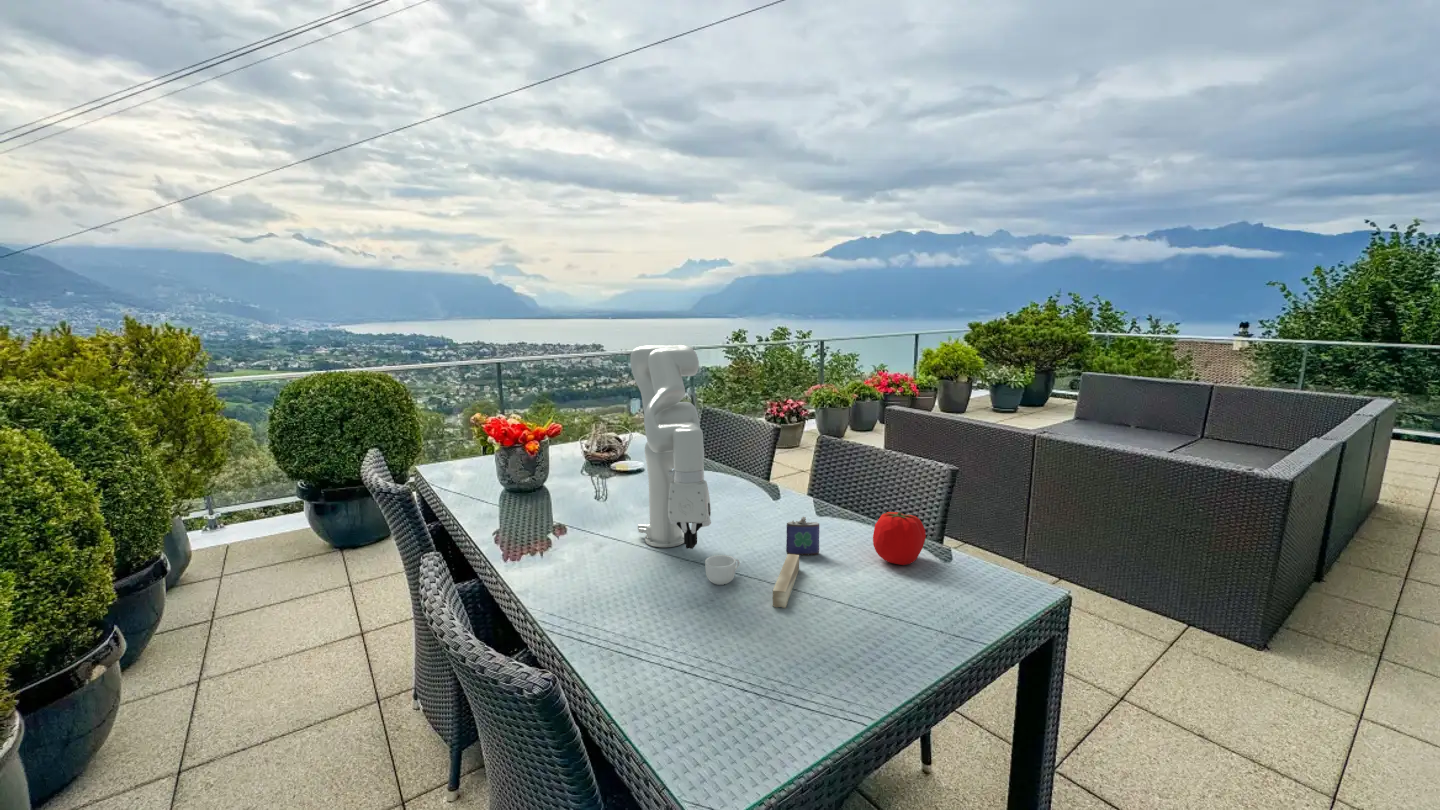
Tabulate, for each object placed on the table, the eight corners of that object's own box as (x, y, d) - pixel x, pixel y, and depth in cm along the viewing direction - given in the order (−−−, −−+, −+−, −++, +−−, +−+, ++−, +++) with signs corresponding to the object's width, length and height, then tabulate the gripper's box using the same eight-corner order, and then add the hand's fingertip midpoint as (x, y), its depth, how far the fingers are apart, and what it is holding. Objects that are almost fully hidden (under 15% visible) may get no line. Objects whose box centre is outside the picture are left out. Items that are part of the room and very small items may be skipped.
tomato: (893, 574, 150) (895, 523, 148) (859, 555, 162) (861, 508, 161) (939, 564, 156) (941, 515, 154) (904, 546, 169) (905, 501, 167)
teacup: (717, 590, 142) (717, 569, 141) (699, 580, 148) (698, 559, 147) (748, 579, 148) (748, 559, 147) (730, 569, 154) (729, 550, 153)
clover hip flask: (818, 551, 166) (819, 515, 164) (819, 556, 163) (820, 519, 161) (785, 551, 166) (786, 515, 165) (786, 555, 163) (786, 518, 162)
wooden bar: (772, 606, 134) (772, 590, 133) (787, 568, 155) (787, 553, 154) (785, 608, 133) (785, 591, 132) (799, 569, 154) (799, 554, 153)
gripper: (655, 478, 145) (657, 549, 147) (713, 481, 141) (715, 554, 143) (666, 471, 152) (668, 540, 154) (721, 474, 148) (723, 544, 150)
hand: (690, 546), depth 148 cm, fingers closed
